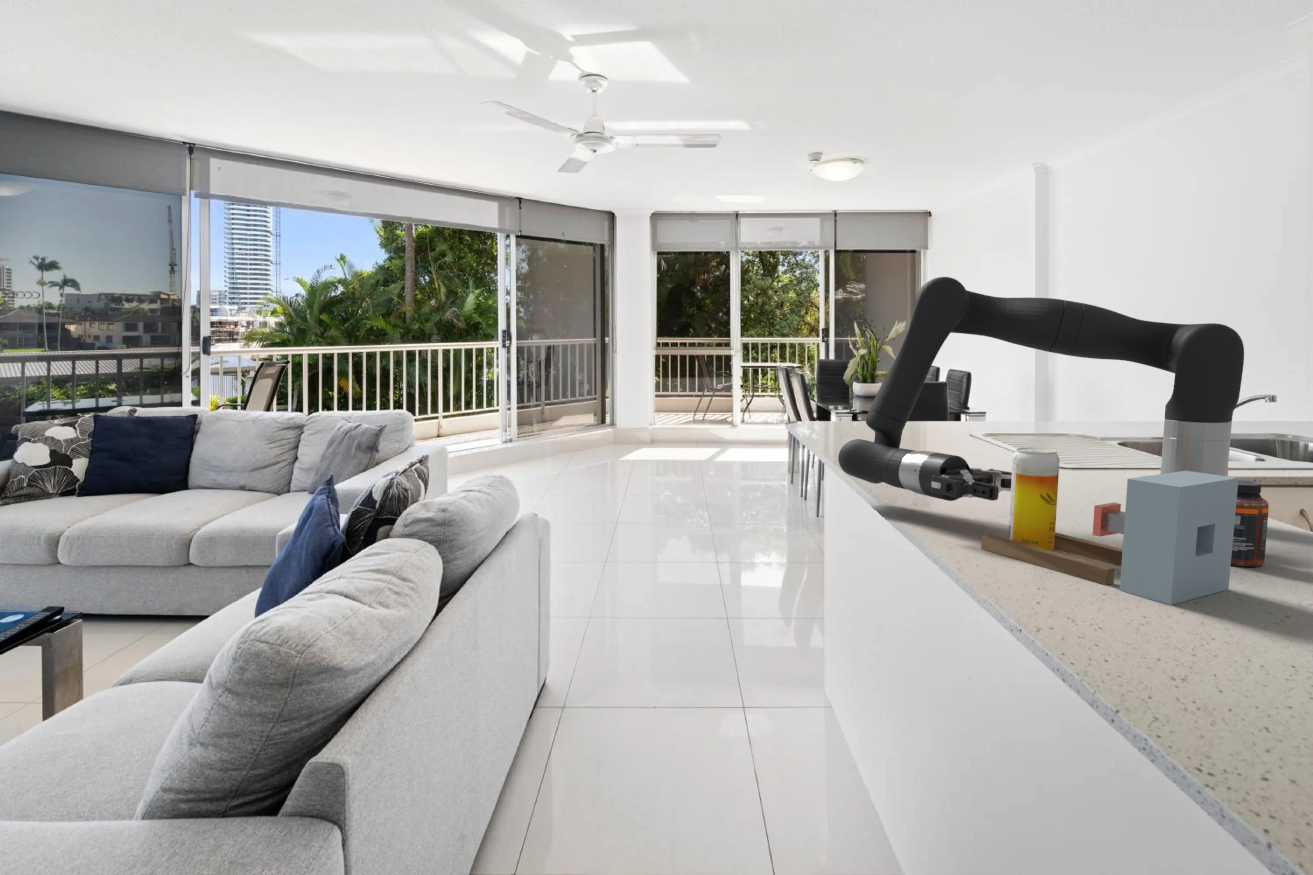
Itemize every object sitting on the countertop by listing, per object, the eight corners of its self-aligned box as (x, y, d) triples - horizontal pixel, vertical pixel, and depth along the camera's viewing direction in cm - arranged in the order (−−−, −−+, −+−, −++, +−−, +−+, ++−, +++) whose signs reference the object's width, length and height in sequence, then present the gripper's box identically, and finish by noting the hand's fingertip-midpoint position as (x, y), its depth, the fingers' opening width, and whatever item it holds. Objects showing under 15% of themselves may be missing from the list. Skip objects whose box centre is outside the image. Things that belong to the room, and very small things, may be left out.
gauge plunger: (1111, 531, 102) (1113, 502, 101) (1191, 549, 93) (1193, 517, 92) (1092, 535, 100) (1094, 505, 99) (1171, 553, 91) (1174, 521, 90)
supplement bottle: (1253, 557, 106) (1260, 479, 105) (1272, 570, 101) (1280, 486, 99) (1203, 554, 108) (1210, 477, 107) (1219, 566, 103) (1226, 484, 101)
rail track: (1032, 539, 117) (1032, 527, 116) (1159, 572, 100) (1160, 557, 100) (981, 548, 112) (981, 535, 112) (1105, 584, 95) (1106, 569, 95)
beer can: (1059, 557, 107) (1066, 453, 105) (1013, 555, 108) (1019, 452, 106) (1046, 546, 113) (1052, 447, 111) (1003, 544, 114) (1008, 446, 112)
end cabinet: (1172, 575, 99) (1181, 470, 97) (1228, 589, 93) (1238, 478, 91) (1115, 588, 93) (1123, 478, 92) (1170, 604, 88) (1180, 486, 86)
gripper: (902, 455, 123) (984, 469, 109) (964, 449, 129) (1050, 462, 115) (901, 500, 124) (982, 520, 110) (963, 492, 130) (1047, 510, 116)
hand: (1016, 490), depth 112 cm, fingers open, 8 cm apart
